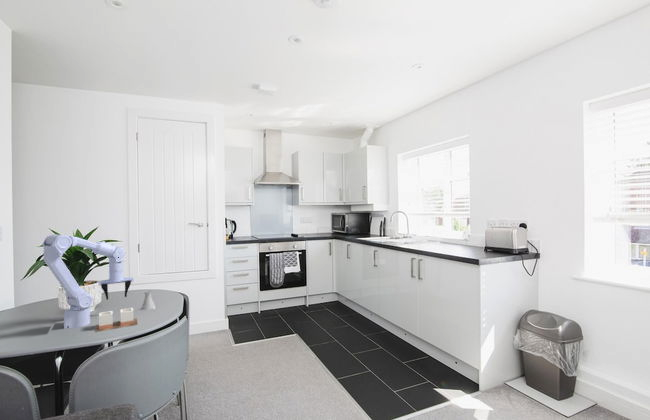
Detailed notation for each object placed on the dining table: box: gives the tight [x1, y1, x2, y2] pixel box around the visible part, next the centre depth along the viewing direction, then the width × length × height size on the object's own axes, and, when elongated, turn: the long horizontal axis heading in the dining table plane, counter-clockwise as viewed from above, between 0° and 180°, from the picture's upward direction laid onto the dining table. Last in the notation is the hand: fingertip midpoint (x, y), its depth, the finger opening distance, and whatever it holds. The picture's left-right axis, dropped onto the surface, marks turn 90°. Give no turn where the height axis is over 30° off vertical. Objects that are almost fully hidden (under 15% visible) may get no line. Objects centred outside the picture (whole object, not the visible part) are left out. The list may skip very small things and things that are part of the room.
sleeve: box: [119, 307, 134, 326], centre depth 150 cm, size 5×5×6 cm
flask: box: [140, 290, 157, 311], centre depth 172 cm, size 7×7×10 cm
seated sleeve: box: [98, 310, 114, 330], centre depth 146 cm, size 5×5×6 cm
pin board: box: [94, 317, 138, 333], centre depth 148 cm, size 16×10×6 cm, turn 122°
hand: (116, 297), depth 163 cm, fingers open, 7 cm apart
